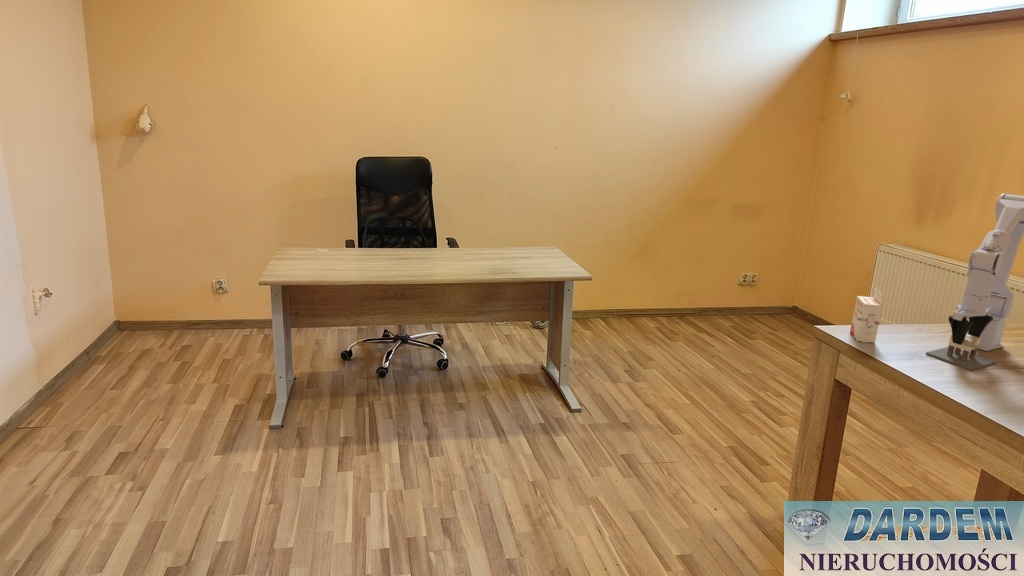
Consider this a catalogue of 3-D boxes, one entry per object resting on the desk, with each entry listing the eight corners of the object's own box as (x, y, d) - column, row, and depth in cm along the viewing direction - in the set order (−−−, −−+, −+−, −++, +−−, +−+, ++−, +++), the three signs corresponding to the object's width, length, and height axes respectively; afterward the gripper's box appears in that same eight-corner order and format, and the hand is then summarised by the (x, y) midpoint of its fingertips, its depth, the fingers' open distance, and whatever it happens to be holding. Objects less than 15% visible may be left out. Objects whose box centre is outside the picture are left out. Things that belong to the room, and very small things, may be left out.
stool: (956, 352, 182) (961, 332, 180) (975, 358, 177) (980, 338, 176) (945, 354, 179) (951, 334, 178) (964, 361, 175) (970, 340, 173)
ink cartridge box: (848, 331, 196) (857, 285, 192) (866, 333, 195) (875, 287, 191) (857, 341, 188) (867, 293, 184) (875, 343, 187) (885, 295, 183)
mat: (950, 348, 186) (950, 346, 186) (995, 363, 176) (996, 361, 176) (925, 354, 181) (926, 352, 180) (971, 370, 171) (971, 368, 170)
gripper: (976, 287, 180) (964, 332, 183) (946, 292, 173) (934, 340, 177) (1004, 294, 174) (991, 341, 178) (974, 300, 167) (961, 349, 171)
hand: (964, 341), depth 177 cm, fingers open, 7 cm apart
